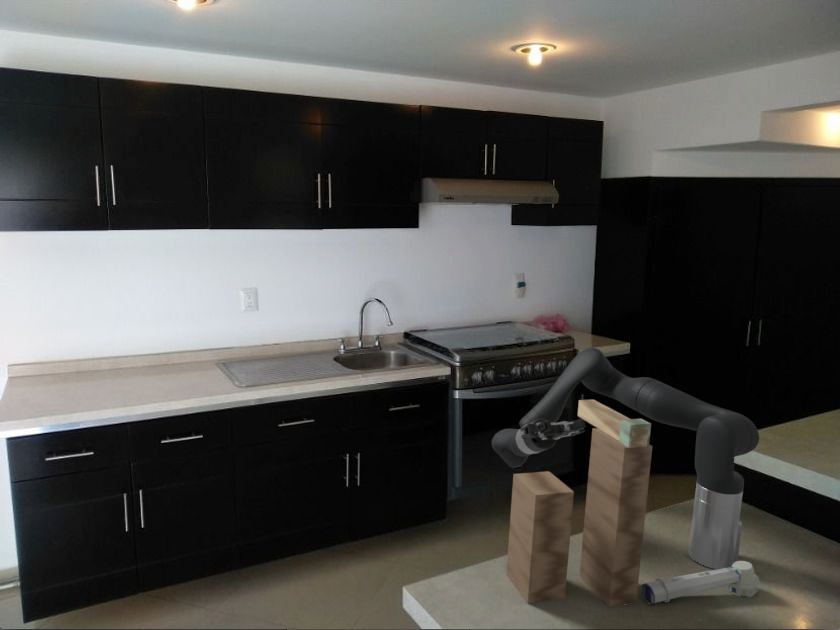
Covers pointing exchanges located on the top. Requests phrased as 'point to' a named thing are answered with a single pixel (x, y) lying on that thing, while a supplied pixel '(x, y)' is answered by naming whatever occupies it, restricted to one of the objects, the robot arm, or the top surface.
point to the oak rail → (615, 423)
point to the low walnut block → (539, 536)
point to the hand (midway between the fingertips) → (566, 423)
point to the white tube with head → (703, 583)
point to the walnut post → (614, 518)
